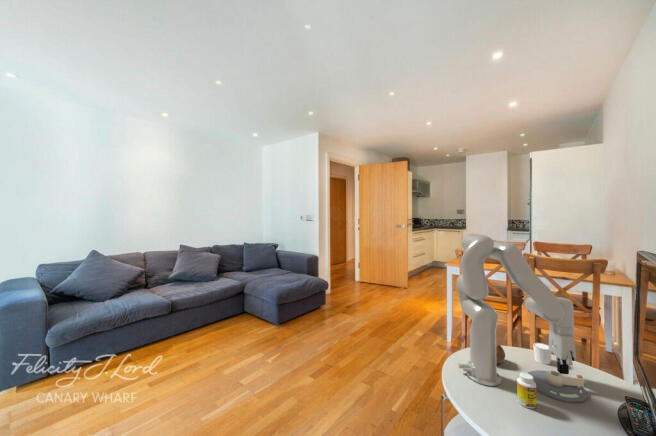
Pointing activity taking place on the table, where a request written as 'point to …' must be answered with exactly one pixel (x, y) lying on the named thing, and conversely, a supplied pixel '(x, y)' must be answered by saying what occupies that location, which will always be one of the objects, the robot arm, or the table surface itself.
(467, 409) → the table surface
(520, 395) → the supplement bottle
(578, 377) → the lever
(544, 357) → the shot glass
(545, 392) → the dial
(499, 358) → the onion
